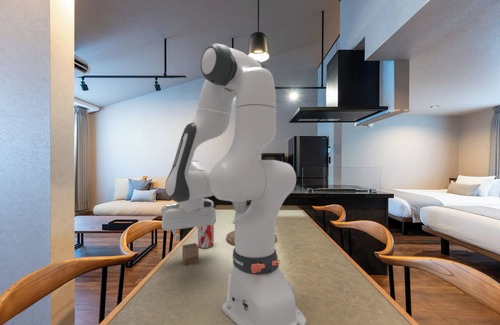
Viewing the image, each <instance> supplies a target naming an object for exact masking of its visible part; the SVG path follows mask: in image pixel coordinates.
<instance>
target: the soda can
mask: <svg viewBox="0 0 500 325" xmlns="http://www.w3.org/2000/svg"><path fill="white" fill-rule="evenodd" d="M214 226H215V224H214V225H207V229H206V231H205V232H204V237H200V236H199V232H201V231H202V229H203V227H202V226H198V227H197V246H198V247H200V248H202V249H209V248H211V247H212V246H213V245H214V243H215V242H214V241H215V238H214V236H215V227H214Z"/></svg>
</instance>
